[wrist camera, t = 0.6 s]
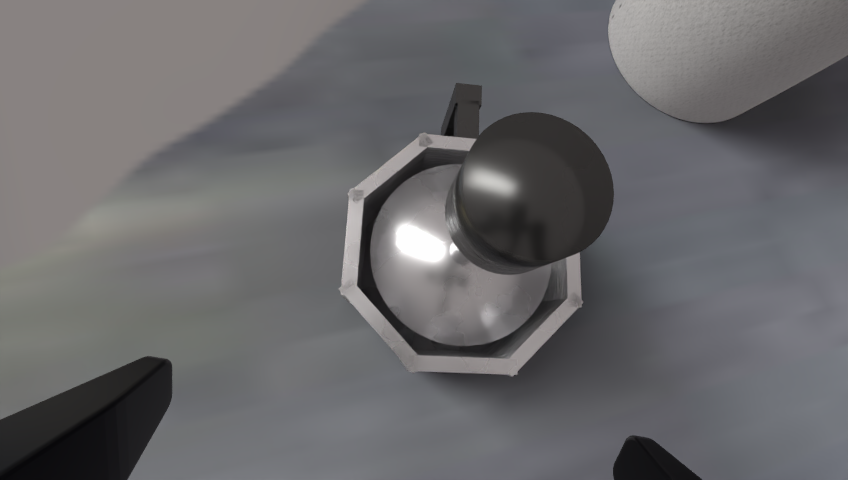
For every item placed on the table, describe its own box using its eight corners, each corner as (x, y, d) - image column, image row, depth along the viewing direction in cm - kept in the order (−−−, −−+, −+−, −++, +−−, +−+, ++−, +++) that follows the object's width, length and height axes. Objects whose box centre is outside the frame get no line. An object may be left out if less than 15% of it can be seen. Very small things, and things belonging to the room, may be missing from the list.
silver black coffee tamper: (468, 386, 17) (567, 447, 8) (331, 256, 18) (287, 184, 9) (579, 250, 19) (758, 183, 10) (453, 136, 20) (518, -24, 11)
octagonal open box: (533, 366, 22) (586, 379, 17) (343, 359, 21) (331, 370, 16) (530, 145, 25) (575, 93, 20) (362, 130, 24) (358, 69, 18)
